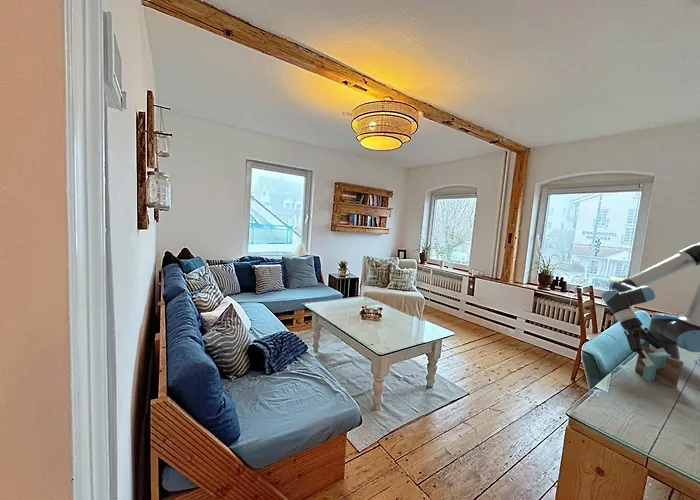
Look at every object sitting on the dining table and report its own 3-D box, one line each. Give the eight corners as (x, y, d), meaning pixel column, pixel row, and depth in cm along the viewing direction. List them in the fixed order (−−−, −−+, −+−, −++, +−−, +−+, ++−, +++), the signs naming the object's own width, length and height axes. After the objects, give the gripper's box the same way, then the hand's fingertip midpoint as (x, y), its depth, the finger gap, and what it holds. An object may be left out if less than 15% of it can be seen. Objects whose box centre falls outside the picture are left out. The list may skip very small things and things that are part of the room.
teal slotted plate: (656, 375, 139) (662, 351, 138) (664, 379, 137) (670, 355, 135) (641, 377, 137) (647, 353, 135) (649, 381, 134) (656, 356, 132)
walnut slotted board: (638, 370, 144) (643, 346, 142) (676, 387, 130) (683, 361, 129) (634, 370, 143) (640, 347, 141) (673, 388, 130) (679, 362, 128)
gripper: (637, 321, 153) (668, 364, 141) (603, 324, 146) (633, 369, 134) (652, 315, 147) (686, 359, 136) (618, 318, 140) (651, 364, 128)
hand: (660, 364), depth 135 cm, fingers open, 13 cm apart
